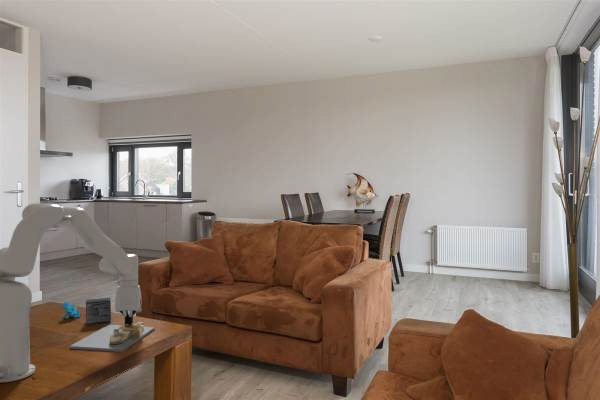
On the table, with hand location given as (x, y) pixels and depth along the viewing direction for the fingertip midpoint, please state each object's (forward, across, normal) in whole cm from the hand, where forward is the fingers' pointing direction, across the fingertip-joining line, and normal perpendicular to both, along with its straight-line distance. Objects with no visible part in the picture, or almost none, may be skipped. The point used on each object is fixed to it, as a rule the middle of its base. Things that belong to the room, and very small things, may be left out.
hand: (128, 325), depth 184 cm
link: (+2, +2, -6) cm, 7 cm away
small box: (+4, -20, +16) cm, 26 cm away
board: (+4, -4, -6) cm, 8 cm away
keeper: (+3, +3, -6) cm, 7 cm away
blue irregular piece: (+4, -36, +23) cm, 43 cm away
